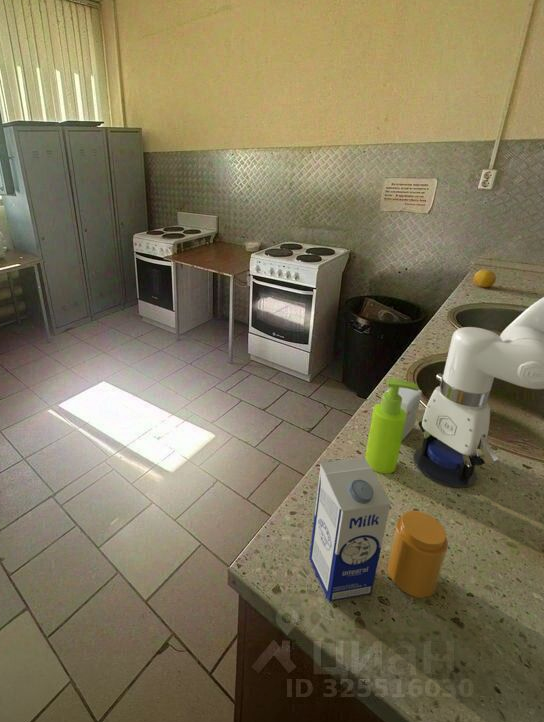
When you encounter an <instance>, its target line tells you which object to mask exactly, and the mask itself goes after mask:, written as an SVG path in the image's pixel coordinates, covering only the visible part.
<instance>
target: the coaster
mask: <svg viewBox="0 0 544 722" xmlns="http://www.w3.org/2000/svg"><path fill="white" fill-rule="evenodd" d="M422 450H423V448H422V447H420V448H418V449H416V451H414V454H413V459H412V460H413V464H414V465H415V467H416V468H417V470H418V471H419V472H420V473H421V474H422V475H423V476H424V477H426V478H427V479H429V480H431V481H432V482H435V483H437V484H439V485H442V486H445V487H447V488H448V487H449V488H453V489H465V488H470V487H472V486H473V485H474V484H475V483H476V481H477V472H476V469H474V471H473V475H472V476H471V477H470V478H465V479H463V480H461V481H460V480H458V479H457V474H458V471H459V470H451V469H447V468H444V467H441V466H439V465H438V464H436V463H435V462H433V461H432V460H431V459H430V457H429V456H428V455H426V456H424V455H422Z"/></svg>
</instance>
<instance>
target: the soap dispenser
mask: <svg viewBox="0 0 544 722" xmlns="http://www.w3.org/2000/svg"><path fill="white" fill-rule="evenodd" d="M386 385H387V387H388V389H389V392H386V391H384V392H383V393H382V395H383V398H382V397H381V401H382V403H381V402H379V403H376V404H375V405H374V406H373V408H372V415H371V420H370V427H369V432H368V438H367V444H366V451H365V456H364V457H365V459H366V460H367V462H368V463H369V465H370V467H371V468H372V469H373V471H374V472H375V473H376V472H377V473H379V474H386V475H387V474H392V473H394V472H395V471H396V469H397V464H398V460H399V459H398V458H399V455H400V451H401V450H400V449H401V445H402V441H403V440H402V435H403V430H404V426H405V421H406V413H405V411H404V410H403V409H401V403H402V397H401V396H400V395H399V394H398V392H399V388H407V389H412V390H415V391H417V390H420V388H419V386H418V384H417V383H414V382H412V381H408V380H404V379H395V378H387V379H386ZM401 440H402V441H401Z"/></svg>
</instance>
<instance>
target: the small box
mask: <svg viewBox="0 0 544 722" xmlns="http://www.w3.org/2000/svg"><path fill="white" fill-rule="evenodd" d="M385 392H389V388H388V389H387V390H386V391H385ZM398 394H399V395H400V396H401V397H402V403H401V409H403V410H404V411H405V413H406V421H405V426H404V430H403V435H402V440H401V442H403V440H405V438H406V437H407V435H408V434H410V432H411V431H412V430H413V429H414V428H415V425H416V421H417V419H416V416H415V412H418V411H419V408H420V404H421V398H422V395H423V390H421V389H419V390H417V391H415V390H412V389H407V388H399V392H398ZM382 398H383V394H382V395H381V399H382ZM380 403H382V400H381V402H380Z"/></svg>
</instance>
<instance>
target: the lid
mask: <svg viewBox="0 0 544 722" xmlns="http://www.w3.org/2000/svg"><path fill="white" fill-rule="evenodd" d="M427 453H428V456H429V457H430V459H431V460H432V461H433V462H435V463H436V464H438V465H439V466H441V467H444V468H447V469H451V470H459V467H460V464H461V463H462V462H464V459H463V455H462V454H461V453H459V452H458V451H456V450H454V449H453V448H451V447H450V446H448V445H447V444H445V443H443V442H442V441H440V440H439V439H437V440H434V441H431V442H430V443H429V445H428V449H427Z"/></svg>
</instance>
